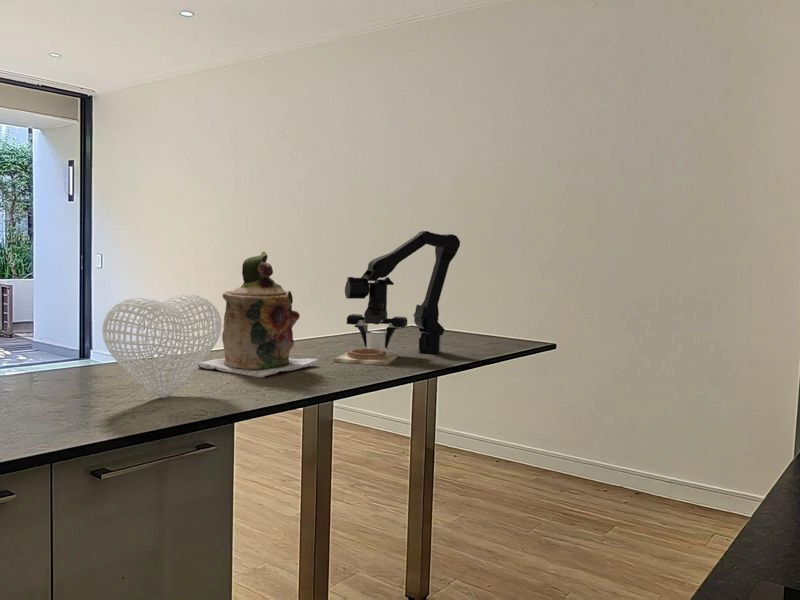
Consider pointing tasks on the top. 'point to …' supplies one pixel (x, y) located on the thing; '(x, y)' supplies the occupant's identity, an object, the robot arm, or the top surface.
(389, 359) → the collar board
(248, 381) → the top surface
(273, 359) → the cookie jar
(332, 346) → the top surface
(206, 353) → the heart
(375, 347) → the white cylinder
